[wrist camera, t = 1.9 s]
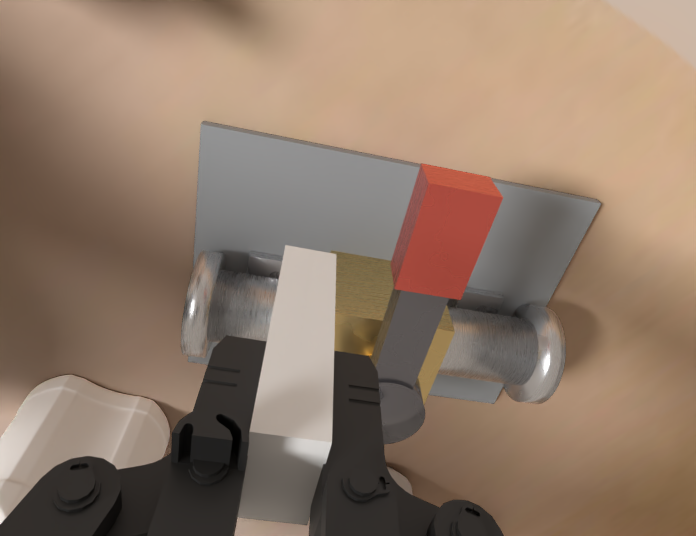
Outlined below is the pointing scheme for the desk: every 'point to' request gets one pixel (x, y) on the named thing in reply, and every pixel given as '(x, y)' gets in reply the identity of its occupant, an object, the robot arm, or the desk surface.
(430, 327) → the lever
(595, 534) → the desk surface
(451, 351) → the valve
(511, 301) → the mat
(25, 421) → the jar
